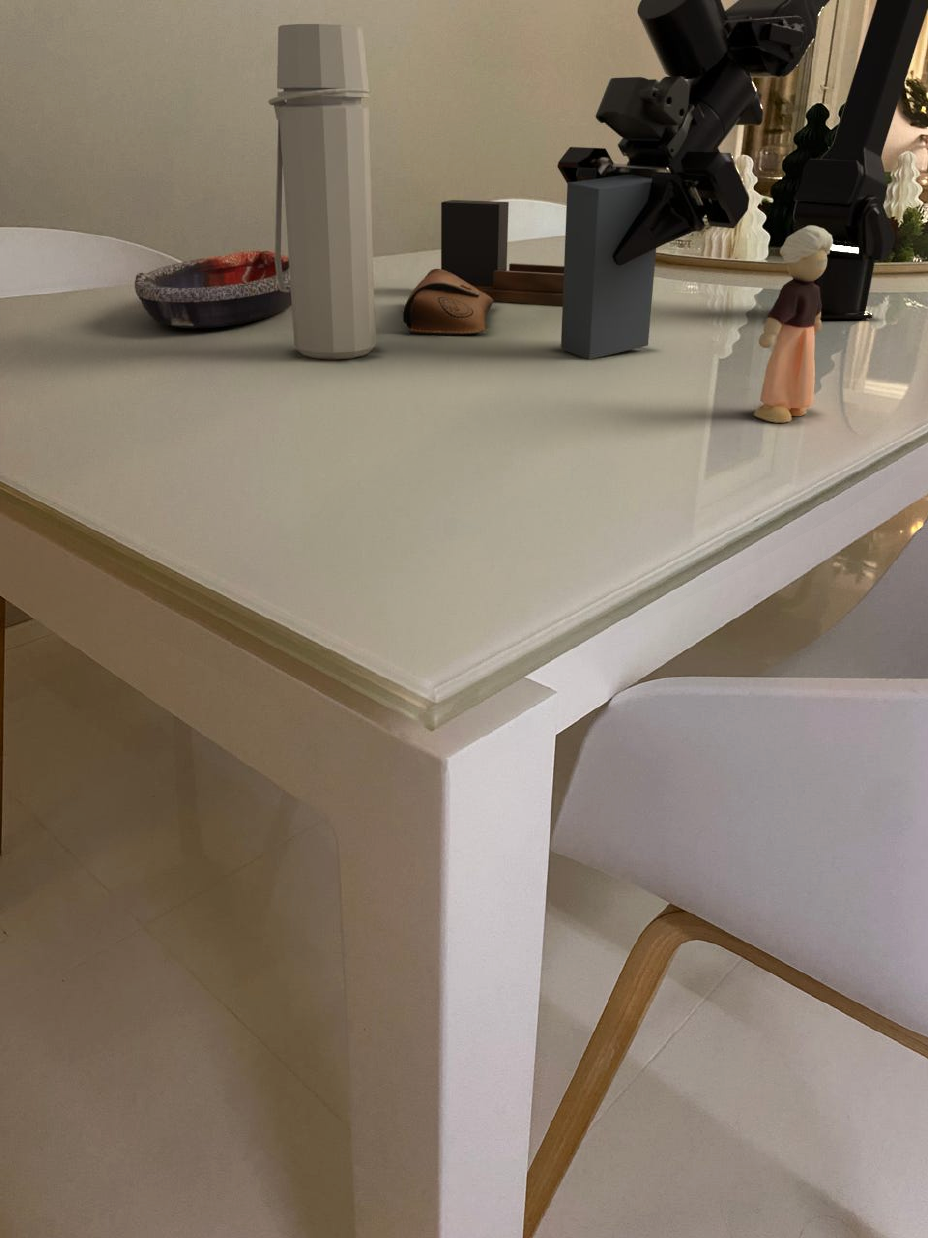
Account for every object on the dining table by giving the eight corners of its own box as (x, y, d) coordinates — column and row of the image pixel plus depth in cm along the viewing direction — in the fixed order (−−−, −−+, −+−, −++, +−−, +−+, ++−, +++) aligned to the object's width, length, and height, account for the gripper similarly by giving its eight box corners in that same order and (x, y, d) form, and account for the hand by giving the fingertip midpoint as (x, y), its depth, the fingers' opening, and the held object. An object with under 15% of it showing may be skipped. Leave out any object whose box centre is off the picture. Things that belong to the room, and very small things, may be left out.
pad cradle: (596, 294, 122) (602, 203, 117) (578, 306, 113) (584, 209, 109) (451, 285, 127) (452, 197, 122) (424, 296, 118) (424, 203, 114)
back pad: (618, 335, 95) (630, 174, 87) (648, 345, 92) (662, 179, 84) (560, 348, 91) (567, 182, 84) (589, 359, 88) (598, 188, 81)
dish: (95, 334, 96) (87, 279, 93) (215, 287, 123) (211, 243, 121) (252, 341, 93) (248, 285, 91) (339, 292, 121) (337, 248, 119)
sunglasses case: (490, 330, 97) (456, 266, 95) (428, 366, 99) (392, 304, 96) (495, 300, 113) (465, 246, 111) (441, 332, 115) (411, 279, 113)
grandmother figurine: (795, 429, 69) (827, 231, 63) (740, 421, 70) (766, 227, 65) (824, 406, 75) (855, 223, 69) (772, 399, 76) (799, 219, 71)
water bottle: (392, 348, 91) (386, 30, 80) (348, 365, 85) (334, 21, 74) (306, 339, 95) (289, 32, 84) (257, 354, 88) (231, 24, 77)
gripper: (582, 47, 90) (478, 179, 88) (750, 35, 76) (630, 191, 75) (634, 148, 97) (539, 271, 96) (795, 153, 84) (688, 297, 82)
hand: (592, 257), depth 87 cm, fingers closed on back pad, 5 cm apart
